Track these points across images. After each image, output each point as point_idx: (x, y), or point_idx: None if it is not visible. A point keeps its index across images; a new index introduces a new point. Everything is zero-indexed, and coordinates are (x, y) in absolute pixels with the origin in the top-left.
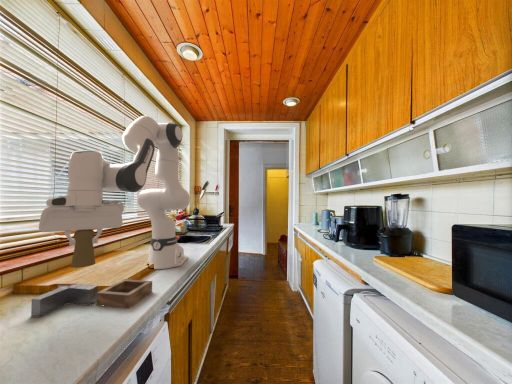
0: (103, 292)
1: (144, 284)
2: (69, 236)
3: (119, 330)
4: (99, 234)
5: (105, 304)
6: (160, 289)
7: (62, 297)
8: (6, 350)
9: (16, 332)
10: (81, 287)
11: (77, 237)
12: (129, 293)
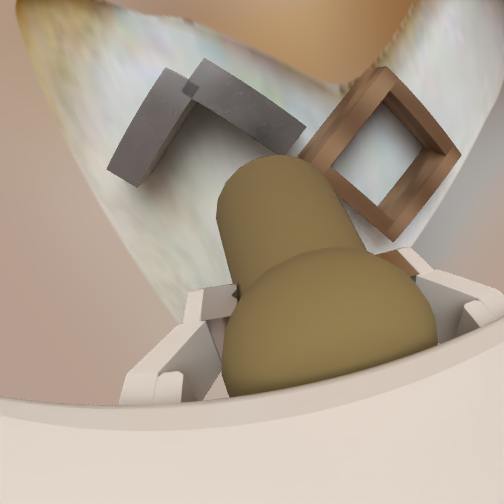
0: (327, 178)
1: (440, 173)
2: (200, 400)
3: None
4: (450, 337)
5: None
6: (458, 139)
7: (182, 117)
8: (164, 300)
9: (139, 238)
10: (244, 115)
11: None
12: (396, 229)
